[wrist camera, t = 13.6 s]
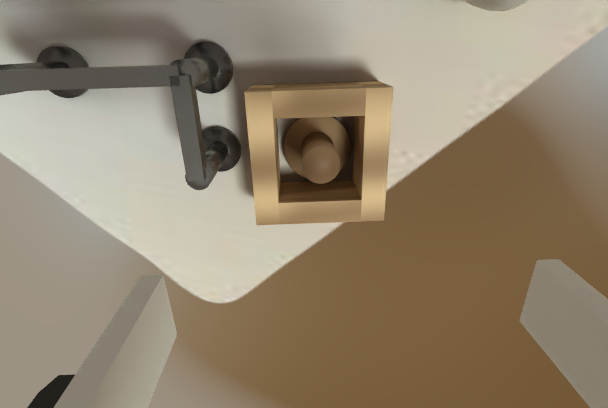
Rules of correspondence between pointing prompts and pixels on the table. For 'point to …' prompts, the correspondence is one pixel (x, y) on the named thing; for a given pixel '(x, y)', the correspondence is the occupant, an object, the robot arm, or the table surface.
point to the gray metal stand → (179, 75)
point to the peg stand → (317, 148)
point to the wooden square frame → (337, 193)
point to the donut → (496, 4)
